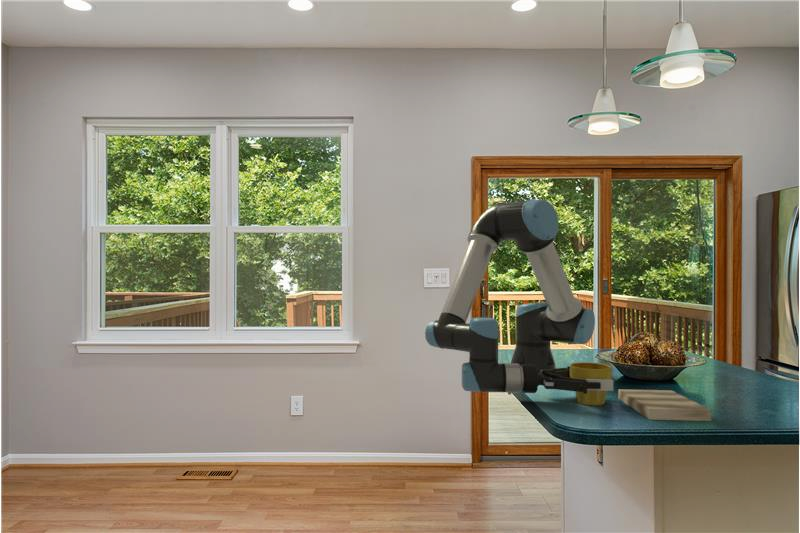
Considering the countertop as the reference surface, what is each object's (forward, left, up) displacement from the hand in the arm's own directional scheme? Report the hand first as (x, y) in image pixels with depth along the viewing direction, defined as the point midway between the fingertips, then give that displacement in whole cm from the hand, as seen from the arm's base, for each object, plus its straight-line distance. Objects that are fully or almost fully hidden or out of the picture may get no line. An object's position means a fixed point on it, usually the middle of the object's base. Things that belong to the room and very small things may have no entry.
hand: (604, 379), depth 138 cm
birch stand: (+5, +12, -6) cm, 15 cm away
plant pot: (0, -4, -6) cm, 7 cm away
